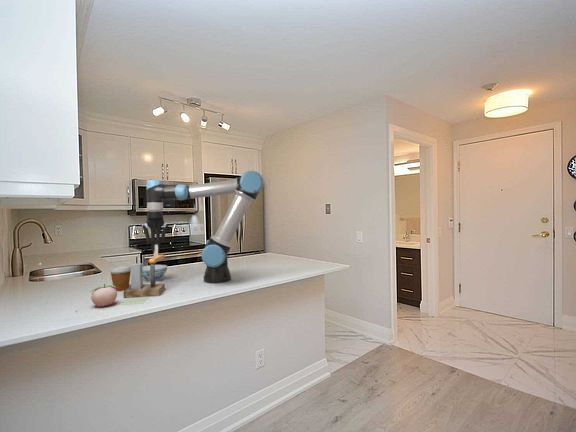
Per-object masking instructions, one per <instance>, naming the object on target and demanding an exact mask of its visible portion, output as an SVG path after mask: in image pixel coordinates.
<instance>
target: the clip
mask: <svg viewBox="0 0 576 432" xmlns="http://www.w3.org/2000/svg"><path fill="white" fill-rule="evenodd" d="M165 258H166V255H165V254H158V256H156V257H154V256H153V257H151V258H149V259H148V264H150V263H155V264H156V263H157V262H160V261H161V260H164V259H165Z"/></svg>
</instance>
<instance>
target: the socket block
mask: <svg viewBox="0 0 576 432" xmlns="http://www.w3.org/2000/svg"><path fill="white" fill-rule="evenodd" d="M149 265H150V278H151V282H150V283H146V284H144V283H143V288H142V289H131V285H129V288H128V289H126V290H125V291H122V293H123V299H134V298H150V297H160V296H161V295H162V294H163V292H164V291H165V290H166V284H165V283H164V282H163V283H162V282H160V283H156V282H155V265H156V263H149Z"/></svg>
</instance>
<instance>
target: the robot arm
mask: <svg viewBox="0 0 576 432" xmlns="http://www.w3.org/2000/svg"><path fill="white" fill-rule="evenodd" d="M263 178H264V177H263V176H262V175H261V174H260V173H259V172H258V171H255V170H248V171H245V172H244V173H243V174H241V176H239V177H236V178H235V179H230V180H222V181H215V182H206V183H196V184H189V185H186V184H181V183H179V184H163V181H162V180H159V179H157V180H156V179H154V180H153V179H151V180H148V181H147V182H146V188H145V189H146V210H147V212H146V222H145V223H144V224H142V225H141V229H142V230H143V232H144V236H145V239H146V242H147V244H149V245H151V252H153V257H156V256H158V255H159V251H160V250H161V244H163V243H164V242H165V239H166V234H167V230H168V228H169V223H168V224H167V223H165V220H164V212H163V211H164V200H178V201H186V200H191V199H199V198H206V197H209V198H210V197H215V196H224V195H232V194H235V196H234V198H233V200H232V202H231V204H230V206H229V207H228V209H227V212H226V213H225V215H224V217H223V219H222V221H221V224H220V225H219V227H218V229H217V231H216V232H215V234H214V235H212V236H210V238H209V239H207V240H206V242H205V247H204V248H203V249H202V250H201V251H202V252H201V261H202V262H203V264H204V265H205V266H206V267H205V272H204V274H203V283H204V282H205V283H209V284H218V283H219V284H220V283H227V282H229V281H231V280H232V275H231V272H230V269H229V266H228V261H229V260H228V254H229V252H230V249H231V248H232V245H231V242H232V239H233V238H234V235H235V233H236V232H237V229H239V226H240V223H241V222H242V220H243V219H244V216H245V214H246V212H247V210H248V208H249V207H250V205H251V203H252V202H255V201H256V200H257V198H258V195H259V194H260V191H261V190H262V189H263V186H264V179H263ZM162 227H163V228H162ZM148 228H149V229H150V232H149V229H148ZM161 228H162V230H161Z"/></svg>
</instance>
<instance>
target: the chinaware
mask: <svg viewBox="0 0 576 432" xmlns="http://www.w3.org/2000/svg"><path fill="white" fill-rule="evenodd" d="M142 270H143V280H146V282H148V283H151V278H150V264H149V265H144V266H143V265H142ZM167 270H168V265H166V264H155V283H156V282H159V281H160V280H161V278H163V277H164V276H165V274H166V272H167Z"/></svg>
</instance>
